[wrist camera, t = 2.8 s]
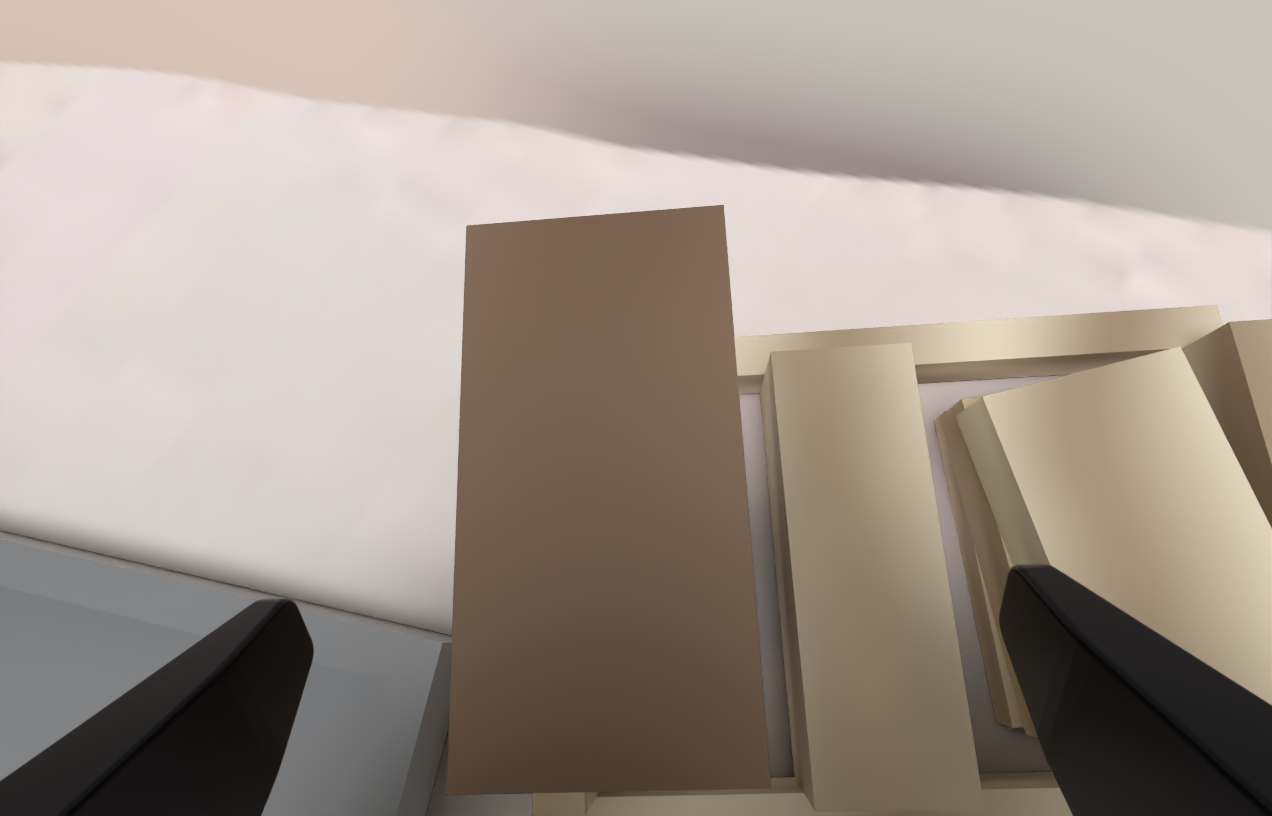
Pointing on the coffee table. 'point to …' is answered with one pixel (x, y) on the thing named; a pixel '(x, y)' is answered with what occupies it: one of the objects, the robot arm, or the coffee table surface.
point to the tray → (177, 619)
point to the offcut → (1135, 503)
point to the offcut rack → (911, 550)
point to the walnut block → (602, 514)
